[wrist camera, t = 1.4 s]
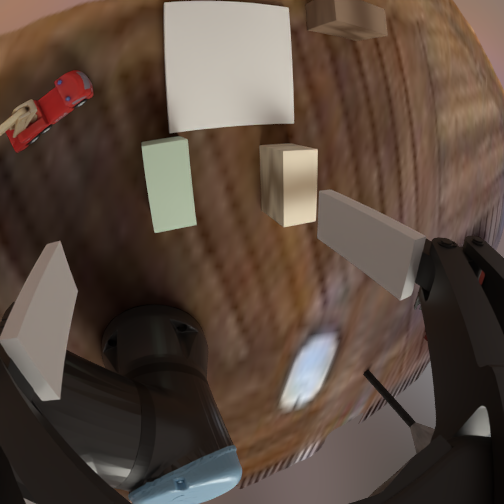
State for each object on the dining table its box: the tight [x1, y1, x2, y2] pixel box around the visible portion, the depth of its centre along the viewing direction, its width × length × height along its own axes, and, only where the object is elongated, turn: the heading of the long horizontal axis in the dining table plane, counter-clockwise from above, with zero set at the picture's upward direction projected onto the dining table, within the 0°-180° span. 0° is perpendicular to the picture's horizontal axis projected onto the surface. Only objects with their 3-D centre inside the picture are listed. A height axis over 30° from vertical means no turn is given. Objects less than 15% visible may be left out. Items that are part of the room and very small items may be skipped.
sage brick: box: [141, 136, 197, 233], centre depth 27 cm, size 8×4×6 cm, turn 2°
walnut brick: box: [305, 0, 388, 41], centre depth 25 cm, size 8×4×6 cm, turn 92°
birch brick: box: [259, 143, 318, 227], centre depth 32 cm, size 8×4×6 cm, turn 2°
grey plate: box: [164, 1, 294, 133], centre depth 26 cm, size 15×14×1 cm
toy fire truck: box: [0, 70, 93, 153], centre depth 17 cm, size 3×14×10 cm, turn 114°
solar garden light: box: [364, 370, 435, 453], centre depth 53 cm, size 12×12×30 cm
